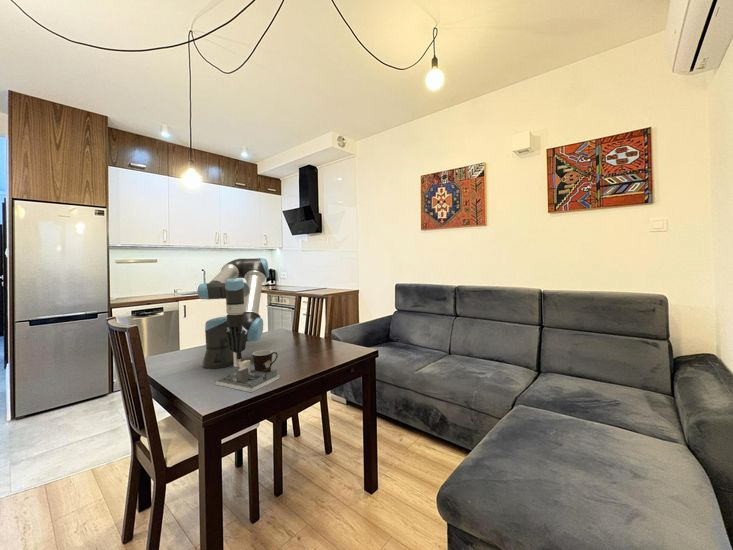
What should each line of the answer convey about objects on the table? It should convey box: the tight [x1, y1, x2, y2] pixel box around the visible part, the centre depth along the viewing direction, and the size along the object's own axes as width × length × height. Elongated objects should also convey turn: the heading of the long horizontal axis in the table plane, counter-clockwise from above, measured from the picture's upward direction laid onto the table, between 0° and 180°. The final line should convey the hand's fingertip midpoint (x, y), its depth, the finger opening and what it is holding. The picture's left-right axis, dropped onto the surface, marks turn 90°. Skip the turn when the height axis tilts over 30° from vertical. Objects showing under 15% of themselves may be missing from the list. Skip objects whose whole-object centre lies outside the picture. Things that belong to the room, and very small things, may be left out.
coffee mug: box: [252, 349, 279, 372], centre depth 143 cm, size 12×9×10 cm
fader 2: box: [235, 367, 249, 382], centre depth 129 cm, size 2×4×5 cm, turn 154°
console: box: [215, 368, 281, 393], centre depth 133 cm, size 20×16×4 cm
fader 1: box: [238, 359, 252, 372], centre depth 139 cm, size 2×4×5 cm, turn 154°
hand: (237, 366), depth 141 cm, fingers closed
